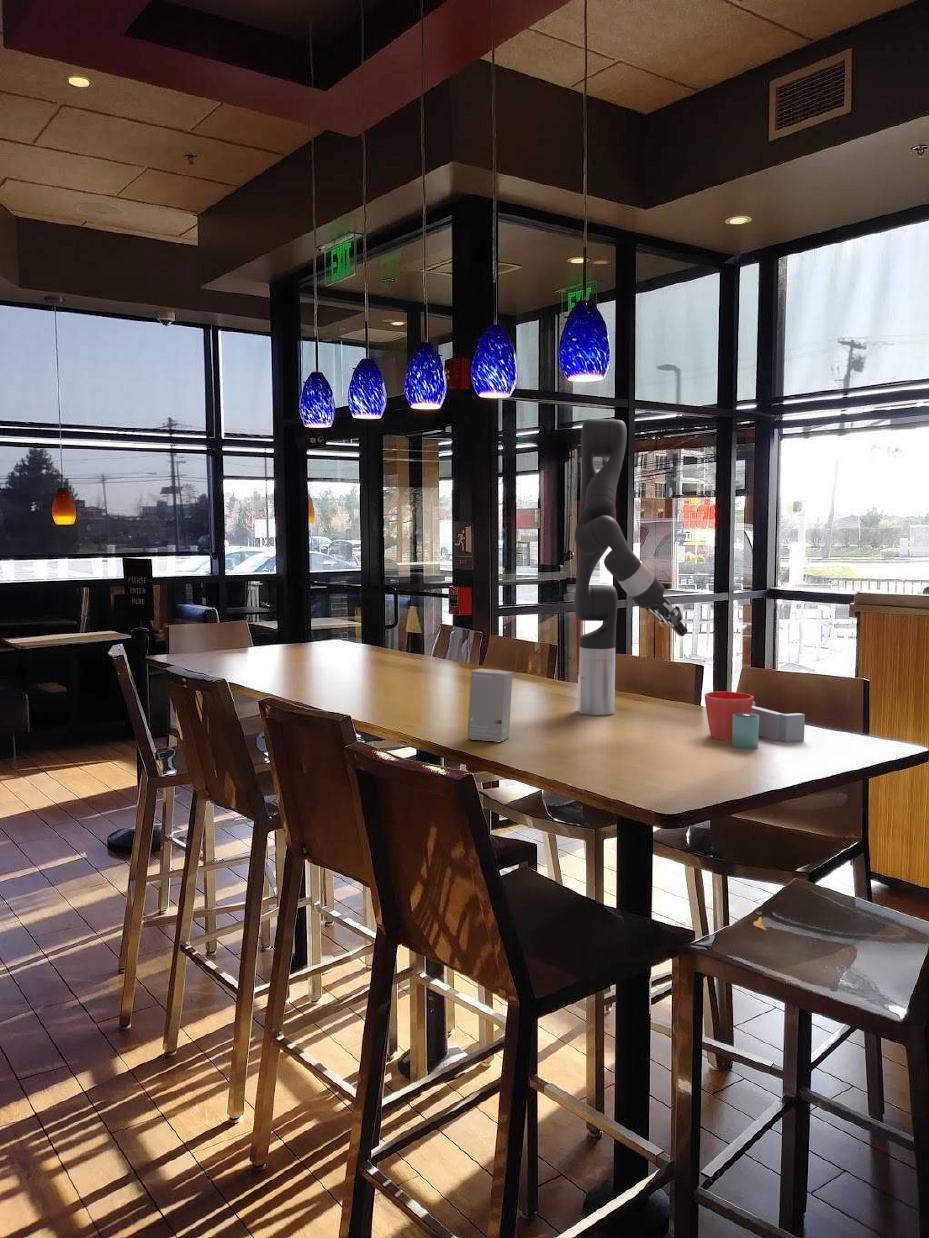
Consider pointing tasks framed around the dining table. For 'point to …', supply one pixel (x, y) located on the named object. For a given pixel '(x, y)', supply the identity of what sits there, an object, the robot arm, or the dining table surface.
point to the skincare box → (489, 705)
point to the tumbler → (745, 730)
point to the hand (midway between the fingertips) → (683, 633)
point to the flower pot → (725, 711)
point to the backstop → (780, 725)
